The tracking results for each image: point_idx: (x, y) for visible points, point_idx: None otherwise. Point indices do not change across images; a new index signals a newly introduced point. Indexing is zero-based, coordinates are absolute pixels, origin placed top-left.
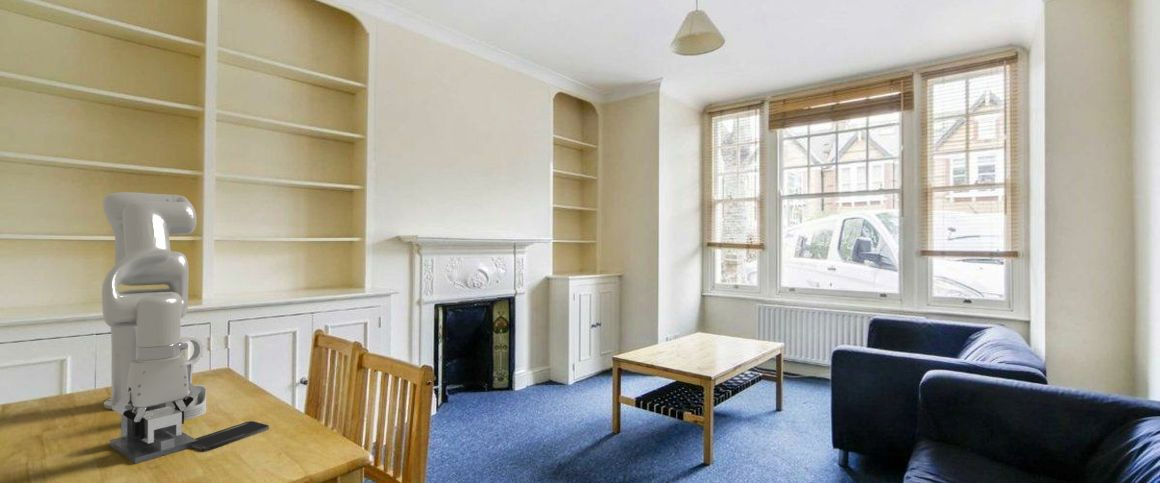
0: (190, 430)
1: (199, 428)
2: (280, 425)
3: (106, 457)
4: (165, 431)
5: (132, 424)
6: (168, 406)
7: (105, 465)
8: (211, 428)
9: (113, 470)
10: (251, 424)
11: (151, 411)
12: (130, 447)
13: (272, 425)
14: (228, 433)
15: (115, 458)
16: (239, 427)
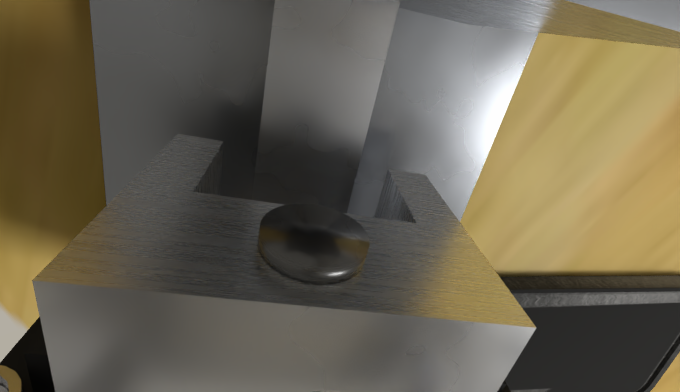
0: (588, 66)
1: (630, 87)
2: (673, 386)
3: (26, 55)
4: (464, 24)
5: (21, 340)
6: (522, 332)
7: (4, 198)
8: (631, 161)
9: (31, 296)
10: (667, 326)
11: (258, 357)
12: (149, 143)
13: (675, 365)
14: (540, 341)
15: (71, 136)
16: (623, 316)
